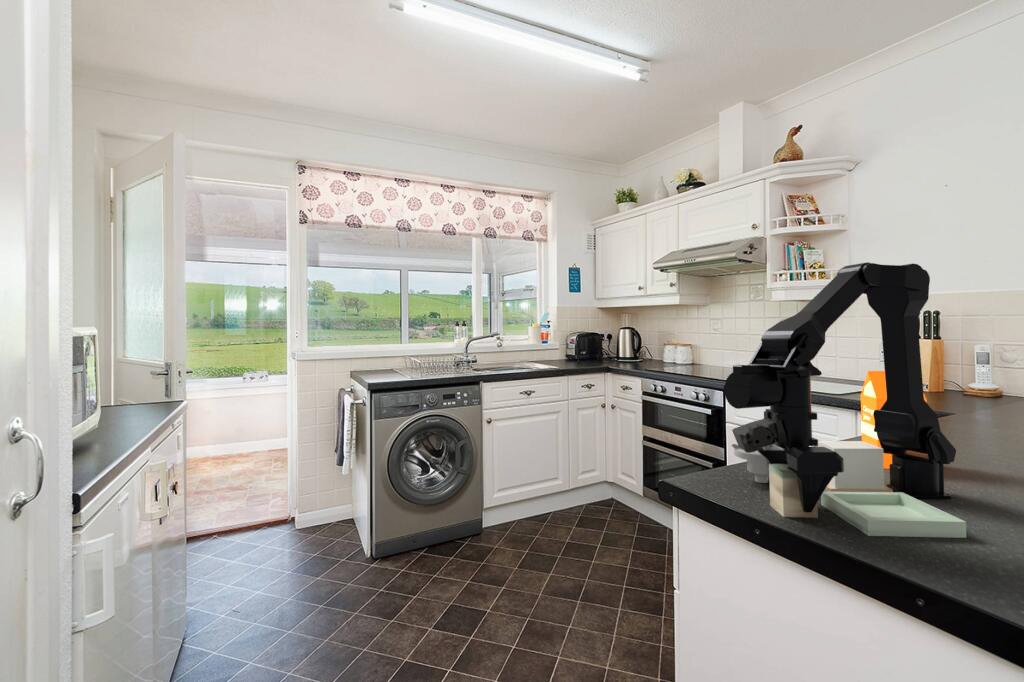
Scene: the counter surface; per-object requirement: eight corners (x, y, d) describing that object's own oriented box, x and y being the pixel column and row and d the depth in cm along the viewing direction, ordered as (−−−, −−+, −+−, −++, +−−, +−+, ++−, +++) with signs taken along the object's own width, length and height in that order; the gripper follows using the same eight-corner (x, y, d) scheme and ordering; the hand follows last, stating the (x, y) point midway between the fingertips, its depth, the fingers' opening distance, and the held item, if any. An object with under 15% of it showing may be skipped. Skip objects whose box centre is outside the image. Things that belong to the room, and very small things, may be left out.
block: (802, 506, 78) (801, 464, 78) (818, 517, 73) (816, 472, 73) (769, 505, 78) (768, 463, 78) (783, 517, 73) (782, 472, 73)
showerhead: (725, 438, 97) (778, 439, 95) (726, 473, 97) (779, 475, 95) (737, 449, 88) (796, 450, 86) (738, 487, 88) (797, 489, 86)
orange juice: (929, 470, 95) (926, 372, 95) (877, 468, 98) (875, 372, 98) (908, 460, 103) (906, 369, 103) (861, 458, 105) (859, 369, 105)
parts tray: (902, 505, 77) (902, 492, 77) (966, 537, 64) (966, 521, 64) (821, 504, 78) (820, 491, 78) (868, 535, 66) (867, 520, 66)
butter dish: (860, 479, 91) (859, 438, 91) (892, 495, 82) (891, 449, 82) (805, 479, 92) (804, 438, 92) (830, 494, 83) (829, 449, 83)
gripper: (719, 398, 86) (721, 483, 86) (760, 414, 67) (763, 523, 67) (784, 397, 85) (786, 484, 85) (844, 413, 66) (847, 524, 66)
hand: (792, 501), depth 76 cm, fingers open, 9 cm apart
